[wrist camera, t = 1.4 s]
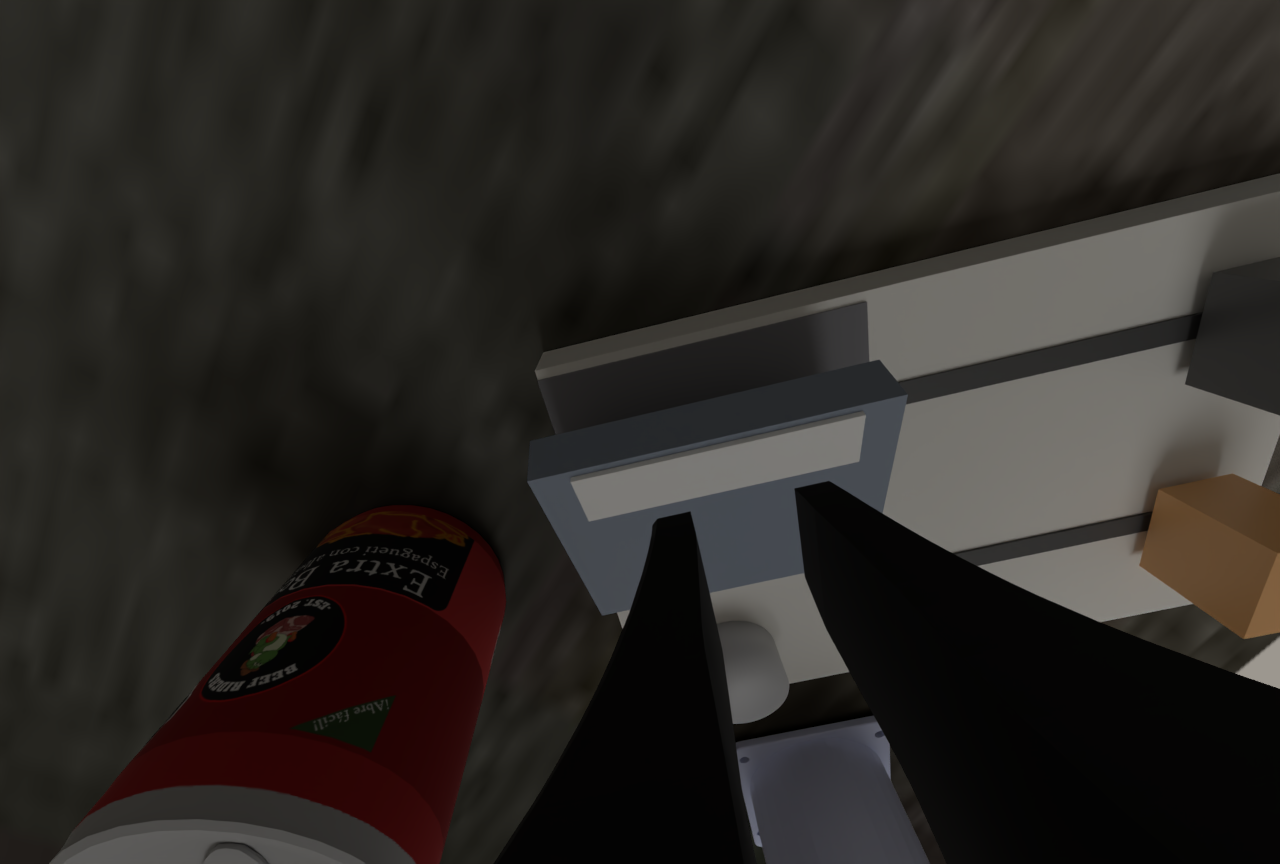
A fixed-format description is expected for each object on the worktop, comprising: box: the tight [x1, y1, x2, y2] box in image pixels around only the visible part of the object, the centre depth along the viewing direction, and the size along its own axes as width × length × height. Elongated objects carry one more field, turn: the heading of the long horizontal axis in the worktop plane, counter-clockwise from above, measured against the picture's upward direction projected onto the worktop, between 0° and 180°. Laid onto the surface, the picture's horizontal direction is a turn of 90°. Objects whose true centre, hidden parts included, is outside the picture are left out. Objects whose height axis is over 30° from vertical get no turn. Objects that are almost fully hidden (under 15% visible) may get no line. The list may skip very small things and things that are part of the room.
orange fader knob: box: [1139, 473, 1280, 639], centre depth 17 cm, size 4×2×4 cm
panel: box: [535, 173, 1280, 724], centre depth 18 cm, size 16×24×4 cm, turn 103°
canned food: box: [49, 505, 506, 864], centre depth 16 cm, size 8×8×11 cm
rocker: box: [527, 359, 908, 616], centre depth 14 cm, size 7×9×2 cm
